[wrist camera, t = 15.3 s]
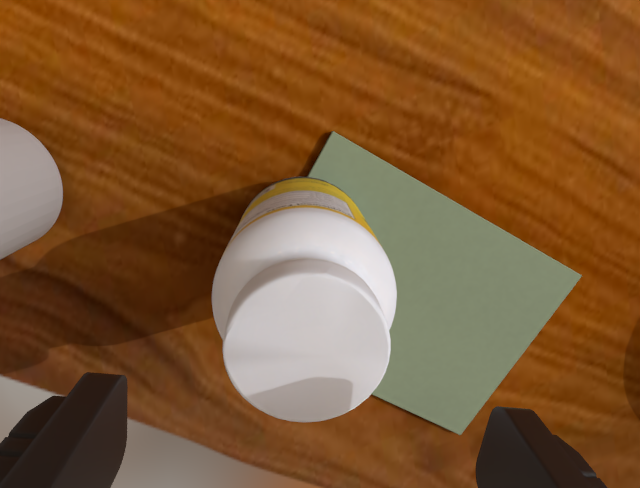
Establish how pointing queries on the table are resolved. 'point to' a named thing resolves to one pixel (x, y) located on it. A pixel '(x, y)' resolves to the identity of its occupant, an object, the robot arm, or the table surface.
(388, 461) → the table surface
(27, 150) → the beverage can
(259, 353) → the pill bottle
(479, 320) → the mat
